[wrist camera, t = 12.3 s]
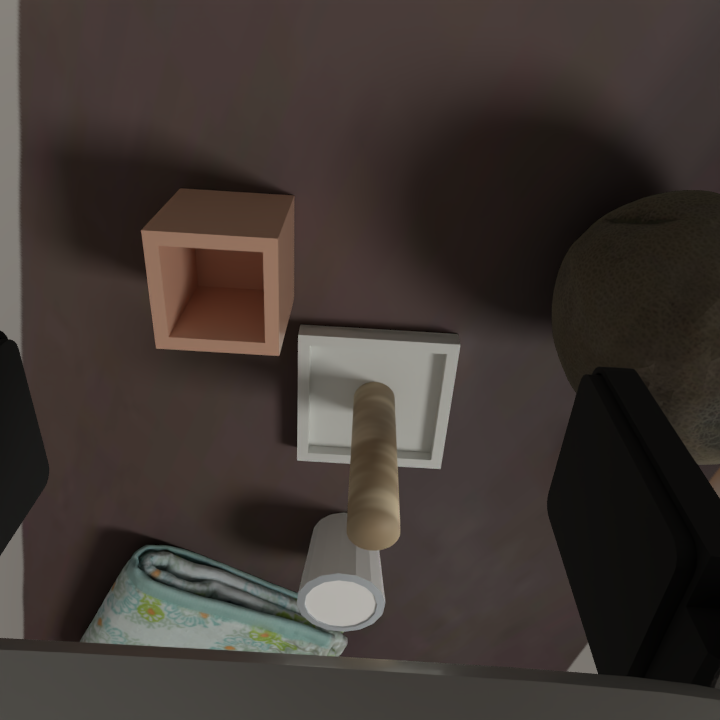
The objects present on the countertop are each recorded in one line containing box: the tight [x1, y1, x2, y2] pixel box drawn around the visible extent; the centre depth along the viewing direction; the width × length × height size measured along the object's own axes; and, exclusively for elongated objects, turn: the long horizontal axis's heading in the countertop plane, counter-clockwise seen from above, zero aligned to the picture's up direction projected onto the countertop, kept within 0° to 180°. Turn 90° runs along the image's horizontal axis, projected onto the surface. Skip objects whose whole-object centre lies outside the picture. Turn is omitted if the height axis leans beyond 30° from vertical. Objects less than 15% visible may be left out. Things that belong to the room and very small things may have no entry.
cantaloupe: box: [552, 190, 720, 465], centre depth 35 cm, size 14×14×15 cm
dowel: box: [347, 382, 400, 551], centre depth 41 cm, size 3×3×13 cm
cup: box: [141, 188, 294, 356], centre depth 38 cm, size 7×7×8 cm
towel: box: [80, 545, 347, 657], centre depth 60 cm, size 18×21×5 cm
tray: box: [297, 324, 460, 469], centre depth 46 cm, size 11×11×2 cm
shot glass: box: [297, 513, 385, 632], centre depth 52 cm, size 7×7×7 cm
